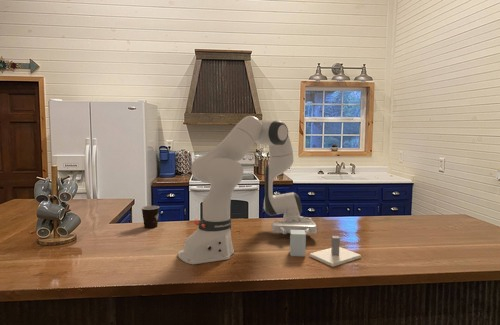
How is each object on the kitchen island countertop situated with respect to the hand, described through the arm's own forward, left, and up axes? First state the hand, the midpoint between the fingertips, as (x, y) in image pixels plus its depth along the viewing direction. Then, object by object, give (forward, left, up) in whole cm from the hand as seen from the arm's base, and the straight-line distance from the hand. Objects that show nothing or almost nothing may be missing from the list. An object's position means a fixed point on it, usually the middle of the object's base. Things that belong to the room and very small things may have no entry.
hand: (295, 232), depth 149 cm
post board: (+3, -20, -5) cm, 21 cm away
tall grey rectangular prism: (-7, -9, -5) cm, 13 cm away
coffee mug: (-44, +60, -5) cm, 74 cm away
